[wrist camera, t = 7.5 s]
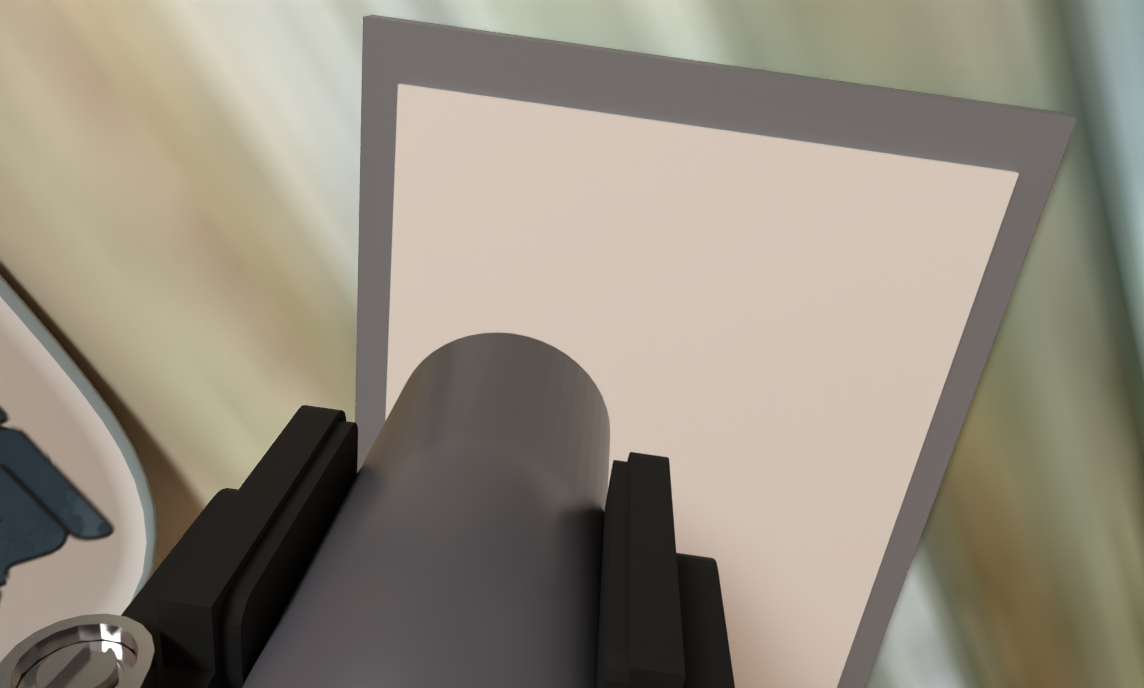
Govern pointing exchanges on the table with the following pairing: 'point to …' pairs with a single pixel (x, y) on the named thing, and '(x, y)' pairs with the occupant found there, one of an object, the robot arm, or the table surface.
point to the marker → (462, 535)
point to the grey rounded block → (63, 488)
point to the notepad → (711, 291)
